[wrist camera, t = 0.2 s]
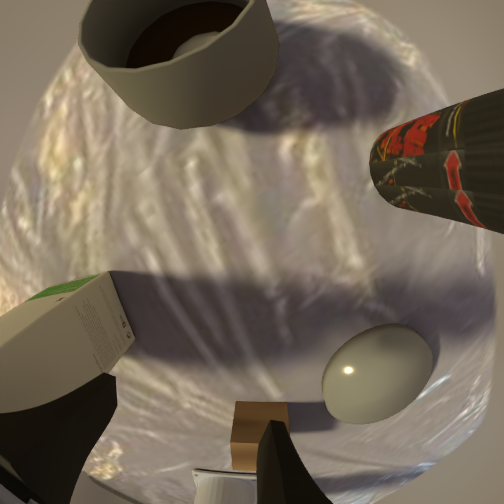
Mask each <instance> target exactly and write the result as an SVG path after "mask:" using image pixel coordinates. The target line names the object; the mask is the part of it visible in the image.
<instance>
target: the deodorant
mask: <svg viewBox="0 0 504 504" xmlns="http://www.w3.org/2000/svg"><path fill="white" fill-rule="evenodd" d="M369 165H370V173H371V177H372V180H373V183H374V186H375V187H376V189H377V190H378V192H379V194H380V195H381V196H382V197H383V198H384V199H385V200H386V201H387V202H388V203H390V204H392V205H393V206H395V207H398V208H402V209H406V210H411V211H416V212H420V213H425V214H429V215H433V216H438V217H442V218H446V219H450V220H454V221H458V222H462V223H466V224H470V225H473V226H477V227H481V228H484V229H488V230H491V231H495V232H498V233H501V234H504V89H500V90H497V91H494V92H490V93H487V94H484V95H481V96H479V97H475V98H472V99H470V100H466V101H464V102H461V103H458V104H455V105H452V106H449V107H446V108H443V109H441V110H438V111H435V112H433V113H430V114H427V115H425V116H422V117H419V118H417V119H414V120H412V121H409V122H407V123H404V124H402V125H399V126H397V127H394V128H392V129H389V130H387V131H386V132H384V133H383V134H381V135H380V136H379V137H378V139H377V140H376V141H375V143H374V145H373V148H372V150H371V153H370V162H369Z"/></svg>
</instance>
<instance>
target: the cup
mask: <svg viewBox="0 0 504 504" xmlns="http://www.w3.org/2000/svg"><path fill="white" fill-rule="evenodd" d="M78 45H79V47H80V49H81V51H82V53H83V55H84V57H85V59H86V61H87V62H88V63H89V64H90V65H91V67H92V68H93V69H94V70H95V71H96V72H97V73H98V74H99V75H100V76H101V77H102V78H103V80H104V81H105V82H106V83H107V84H108V85H109V86H110V87H111V88H112V89H113V90H114V91H115V93H116V94H117V95H118V96H119V97H120V98H121V99H122V100H123V101H124V102H125V103H126V104H127V106H128V107H129V108H130V109H132V110H133V111H135V112H136V113H138V114H139V115H141V116H142V117H144V118H145V119H147V120H148V121H150V122H151V123H153V124H157V125H162V126H167V127H172V128H176V129H189V128H197V127H206V126H212V125H215V124H217V123H219V122H221V121H224V120H226V119H229V118H231V117H233V116H236V115H238V114H240V113H241V112H242V111H243V110H244V109H245V108H247V107H248V106H249V105H250V104H251V103H253V102H254V101H255V100H256V99H258V98H259V97H260V96H261V95H262V94H263V92H264V90H265V89H266V87H267V85H268V84H269V82H270V80H271V79H272V77H273V75H274V74H275V72H276V67H277V60H278V53H279V41H278V37H277V34H276V30H275V27H274V24H273V21H272V17H271V14H270V11H269V8H268V5H267V2H266V0H90V2H89V3H88V5H87V7H86V9H85V12H84V14H83V16H82V18H81V21H80V23H79V34H78Z"/></svg>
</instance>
